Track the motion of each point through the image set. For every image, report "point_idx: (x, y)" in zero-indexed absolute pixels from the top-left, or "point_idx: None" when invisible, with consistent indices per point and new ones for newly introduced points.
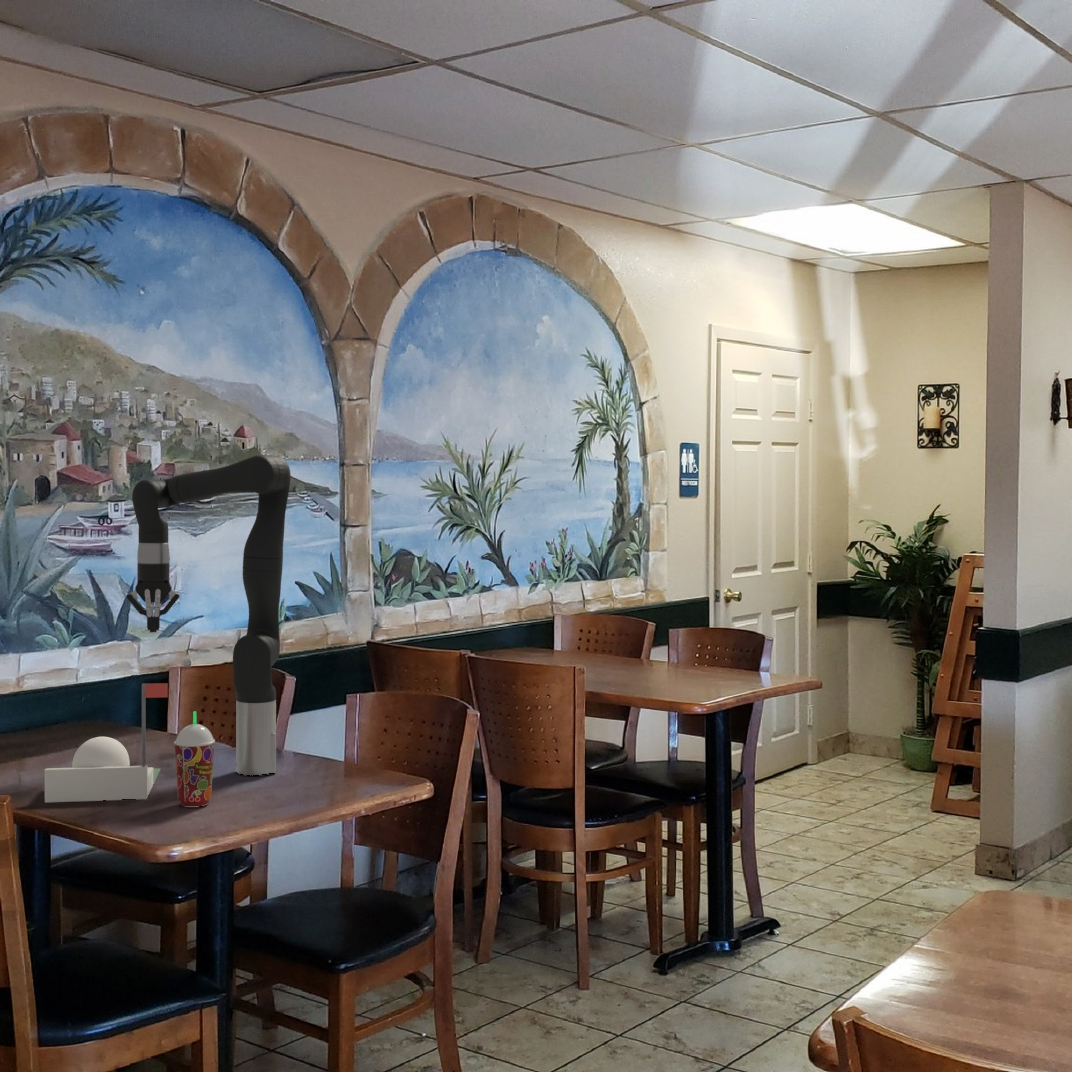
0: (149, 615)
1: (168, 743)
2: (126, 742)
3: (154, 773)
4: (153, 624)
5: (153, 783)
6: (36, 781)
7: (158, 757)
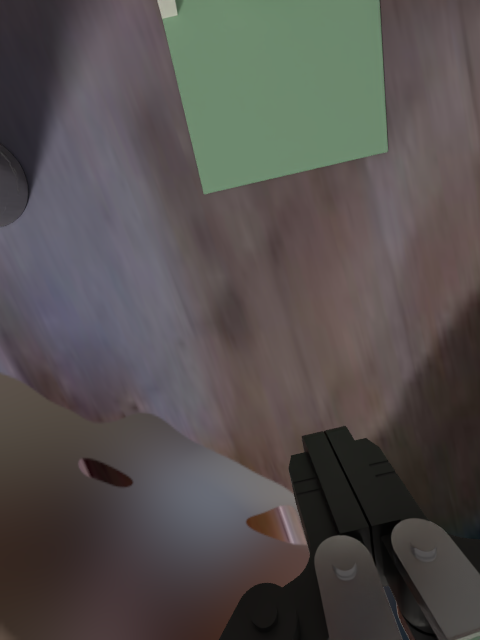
0: (415, 531)
1: (265, 422)
2: (341, 420)
3: (198, 137)
4: (338, 470)
5: (163, 21)
6: (432, 48)
7: (246, 308)
